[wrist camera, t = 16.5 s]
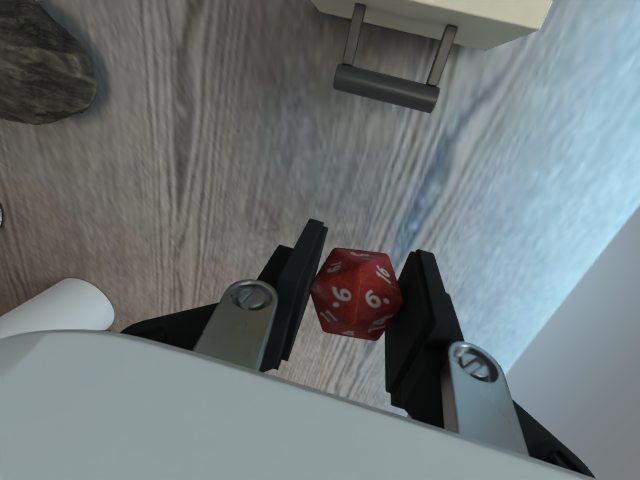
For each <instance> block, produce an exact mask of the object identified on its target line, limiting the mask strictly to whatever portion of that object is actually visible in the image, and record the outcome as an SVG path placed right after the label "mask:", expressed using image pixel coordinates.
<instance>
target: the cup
mask: <svg viewBox="0 0 640 480" xmlns="http://www.w3.org/2000/svg"><path fill="white" fill-rule="evenodd" d="M113 321H114V310H113V307H112V305H111V303H110V301H109V300H108V298H107V297H106V296H105V295H104V294H103V293H102V292H101V291H100V290H99V289H98V288H96V287H95V286H94V285H92V284H90V283H88V282H86V281H84V280H81V279H77V278H67V279H64V280H62V281H61V282H59V283H57V284H55V285H54V286H52V287H50V288H49V289H47V290H45V291H44V292H42V293H40V294H39V295H37V296H35V297H33V298H32V299H30V300H28V301H27V302H25V303H23V304H22V305H20V306H18V307H17V308H15V309H13V310H12V311H10V312H8V313H6V314H5V315H3V316H1V317H0V339H1V338H5V337H8V336H12V335H16V334H20V333H26V332H33V331H42V330H53V329H86V330H106V329H107V328H108V327H109V326H110V325H111V324H112V323H113Z"/></svg>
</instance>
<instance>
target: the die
mask: <svg viewBox="0 0 640 480" xmlns="http://www.w3.org/2000/svg"><path fill="white" fill-rule="evenodd" d="M309 289H310V293H311V296H312V300H313V303H314V306H315V309H316V312H317V315H318V318H319V321H320V324H321V327H322V330H323V331H324V332H326V333H332V334H337V335H343V336H348V337H354V338H360V339H366V340H372V341H377V340H378V339H379V338H380V337H381V335H382V334H383V332H384V331H385V329H386V328H387V327H388V325H389V324H390V322H391V321H392V319H393V318H394V317H395V315H396V314H397V312H398V311H399V309H400V308H401V307H402V305H403V298H402V295H401V292H400V289H399V286H398V283H397V280H396V277H395V274H394V271H393V267H392V264H391V261H390V258H389V256H388V255H387V254H385V253H378V252H370V251H362V250H354V249H345V248H334V249H333V250H332V251H331V253H330V254H329V256H328V258H327V259H326V261H325V262H324V264H323V265H322V267H321V269H320V270H319V272H318V274H317V275H316V277H315V279H314V280H313V282H312V283H311V285H310V288H309Z"/></svg>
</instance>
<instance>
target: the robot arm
mask: <svg viewBox="0 0 640 480" xmlns="http://www.w3.org/2000/svg"><path fill="white" fill-rule="evenodd" d="M323 225H324V222H321V221H317V220H314V219H309V221H308V223H307V224H306V226H305V228H304V230H303V232H302V234H301V236H300V238H299V239H298V241H297V243H296V245H295V247H294V249H293V248H290V247H286V246H283V245H279V246H278V247H277V249H276V250H275V252H274V253H273V255H272V256H271V258H270V260H269V261H268V263H267V264H266V266H265V267H264V269H263V271H262V272H261V274H260V275H259V277H258V278H257V280H253V279H248V280H241V281H237V282H235V283H233V284H231V285H230V286H229V287H228V288H227V290H226V291H225V293H224V295H223V296H222V298H221V300H220V302H219V303H215V304H211V305H206V306H202V307H198V308H194V309H190V310H186V311H182V312H177V313H173V314H169V315H165V316H161V317H157V318H153V319H148V320H144V321H141V322H138V323H135V324H132V325H131V326H129V327H127V328H125V329H124V330H123V331H121V332H120V333H115V332H111V330H86V329H53V330H42V331H33V332H26V333H20V334H16V335H12V336H8V337H5V338H1V339H0V480H598V479H596V478H595V477H594V475H593V474H592V473H591V471H590V470H589V469H588V467H587V466H586V465H585V464H584V463H583V462H582V461H581V460H580V459H579V458H578V457H577V456H576V455H575V454H574V453H572V452H571V451H570V450H569V449H568V448H567V447H566V446H564V445H563V444H562V443H561V442H560V441H559V440H558V439H557V438H555V437H554V436H553V435H552V434H551V433H550V432H549V431H548V430H546V429H545V428H544V427H543V426H542V425H540V424H539V423H538V422H537V421H536V420H535V419H534V418H533V417H532V416H531V415H529V414H528V413H527V412H526V411H525V410H524V409H523V408H521V407H520V406H519V405H518V404H517V403H516V402H515V401H514V400H512V398H511V395H510V391H509V388H508V385H507V382H506V379H505V375H504V372H503V370H502V368H501V366H500V365H499V364H498V362H497V361H496V360H495V359H494V358H493V357H492V356H491V355H490V354H489V353H487V352H486V351H484V350H483V349H481V348H480V347H478V346H476V345H474V344H471V343H467V342H465V341H464V338H463V335H462V332H461V329H460V325H459V322H458V319H457V316H456V313H455V310H454V307H453V304H452V301H451V298H450V295H449V294H448V293H446V292H445V289H444V285H443V282H442V279H441V276H440V272H439V269H438V266H437V263H436V259H435V256H434V254H433V253H430V252H427V251H423V250H419V249H418V250H416V252H412V251H411V252H410V254H409V256H408V258H407V260H406V263H405V265H404V267H403V269H402V272H401V274H400V276H399V279H398V281H397V283H398V286H399V289H400V292H401V295H402V298H403V305H402V307H401V308H400V309H399V311H398V312H397V314H396V315H395V317H394V318H393V319H392V321H391V322H390V324H389V325H388V327H387V328H386V329H385V387H386V392H389V393H391V405H392V406H395V407H398V408H402V409H405V411H406V412H407V413H408V415H407V417H404V416H401V415H397V414H394V413H391V412H388V411H385V410H382V409H378V408H375V407H372V406H369V405H366V404H362V403H359V402H356V401H353V400H350V399H346V398H343V397H340V396H337V395H334V394H330V393H327V392H324V391H321V390H318V389H314V388H311V387H308V386H305V385H301V384H298V383H295V382H292V381H288V380H285V379H282V378H279V377H275V376H272V375H269V374H266V373H264V372H266V371H268V370H271V369H277V370H278V368H279V365H280V362H281V360H285V361H288V359H289V356H290V353H291V350H292V347H293V344H294V341H295V338H296V335H297V332H298V329H299V326H300V323H301V320H302V317H303V315H304V312H305V309H306V306H307V303H308V300H309V297H310V294H311V293H310V289H309V288H310V285H311V283H312V282H313V280H314V279H315V276H316V272H317V269H318V265H319V261H320V257H321V254H322V250H323V246H324V242H325V239H326V235H327V231H328V227H324V226H323Z"/></svg>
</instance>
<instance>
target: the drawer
mask: <svg viewBox="0 0 640 480" xmlns="http://www.w3.org/2000/svg"><path fill="white" fill-rule="evenodd" d="M311 1H312V3H313V4H314V5H315V6H316V8H317V9H318V10H319V11H320V12H323V13H327V14H332V15H336V16H340V17H344V18H349V19H352V20H351V24H350V29H349V33H348V38H347V43H346V47H345V52H344V56H343V61H342V63H343V64H341V63H339V64H338V66H337V69H336V73H335V77H334V84H333V88H334V89H335V90H339V91H343V92H347V93H351V94H355V95H359V96H363V97H367V98H371V99H375V100H379V101H383V102H387V103H391V104H395V105H399V106H403V107H407V108H411V109H415V110H419V111H423V112H427V113H431V112H432V111H433V109H434V107H435V104H436V102H437V99H438V96H439V92H440V88H439V87H436V86H437V85H438V83H439V80H440V77H441V74H442V72H443V69H444V66H445V63H446V60H447V58H448V55H449V52H450V49H451V46H452V44H453V43H455V44H459V45H463V46H468V47H472V48H476V49H481V50H485V51H486V50H489V49H491V48H494V47H496V46H499V45H502V44H504V43H507V42H509V41H512V40H514V39H517V38H520V37H522V36H525V35H527V34H530V33H533V32H535V31H538V30H539V29H540V28H541V26H542V24H543V22H544V19H545V17H546V15H547V13H548V11H549V9H550V6H551V4H552V2H553V0H311ZM363 22H366V23H370V24H374V25H378V26H383V27H387V28H391V29H395V30H400V31H404V32H408V33H412V34H417V35H421V36H425V37H429V38H434V39H438V40H441V41H440V44H439V47H438V50H437V53H436V56H435V59H434V61H433V64H432V67H431V70H430V73H429V76H428V79H427V82H426V84H427V85H426V84H422V83H418V82H414V81H410V80H406V79H402V78H398V77H394V76H390V75H386V74H382V73H377V72H373V71H369V70H365V69H361V68H357V67H353V63H354V59H355V54H356V50H357V46H358V41H359V37H360V33H361V29H362V24H363Z"/></svg>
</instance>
